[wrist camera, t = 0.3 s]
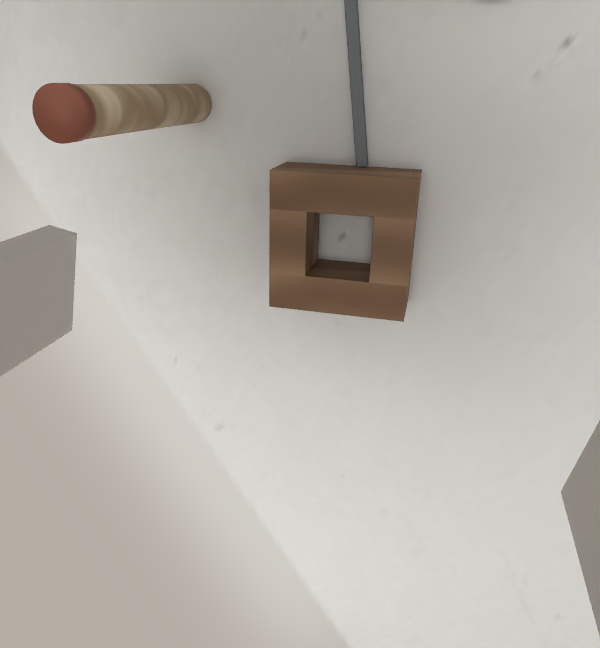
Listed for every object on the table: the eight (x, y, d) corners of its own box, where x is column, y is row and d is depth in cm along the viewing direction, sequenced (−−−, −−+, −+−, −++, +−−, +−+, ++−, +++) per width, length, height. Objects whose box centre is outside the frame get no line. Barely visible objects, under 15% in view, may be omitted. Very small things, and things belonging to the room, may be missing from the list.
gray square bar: (345, -6, 34) (343, -8, 33) (356, -8, 34) (355, -10, 33) (357, 166, 37) (356, 167, 37) (368, 165, 37) (367, 166, 37)
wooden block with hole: (286, 161, 38) (269, 170, 35) (421, 169, 37) (418, 179, 33) (284, 287, 42) (269, 306, 38) (407, 300, 40) (403, 321, 37)
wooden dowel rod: (176, 82, 38) (28, 82, 25) (211, 83, 38) (79, 83, 24) (178, 122, 39) (37, 142, 26) (212, 123, 39) (86, 144, 25)
